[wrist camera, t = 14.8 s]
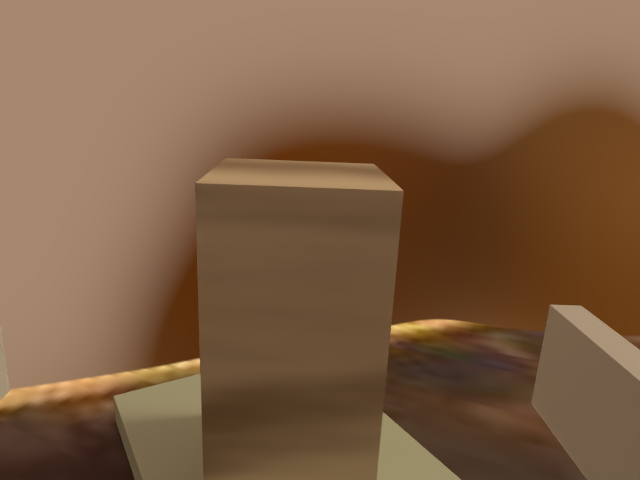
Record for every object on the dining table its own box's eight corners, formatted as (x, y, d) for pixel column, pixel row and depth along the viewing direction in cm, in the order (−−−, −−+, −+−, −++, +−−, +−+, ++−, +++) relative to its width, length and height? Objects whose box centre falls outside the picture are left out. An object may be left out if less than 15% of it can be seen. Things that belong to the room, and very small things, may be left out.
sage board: (535, 584, 17) (543, 551, 17) (242, 809, 11) (242, 767, 11) (305, 367, 30) (306, 346, 30) (115, 422, 24) (113, 395, 24)
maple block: (372, 520, 17) (403, 191, 14) (204, 519, 17) (195, 183, 14) (355, 415, 23) (373, 164, 20) (228, 413, 23) (226, 158, 20)
